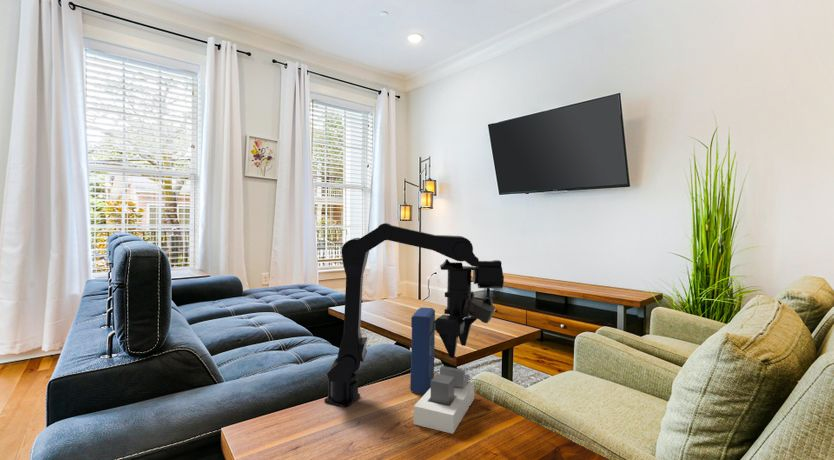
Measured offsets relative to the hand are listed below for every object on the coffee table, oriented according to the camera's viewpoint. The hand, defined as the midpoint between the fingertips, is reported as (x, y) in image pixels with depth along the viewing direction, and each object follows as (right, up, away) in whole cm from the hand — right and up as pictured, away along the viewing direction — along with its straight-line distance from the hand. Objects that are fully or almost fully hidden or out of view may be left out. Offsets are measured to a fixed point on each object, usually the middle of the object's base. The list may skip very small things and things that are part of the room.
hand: (458, 351), depth 95 cm
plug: (-4, -12, -7) cm, 14 cm away
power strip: (-3, -13, -4) cm, 14 cm away
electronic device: (-8, -12, +9) cm, 17 cm away
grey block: (-1, -8, +2) cm, 8 cm away
